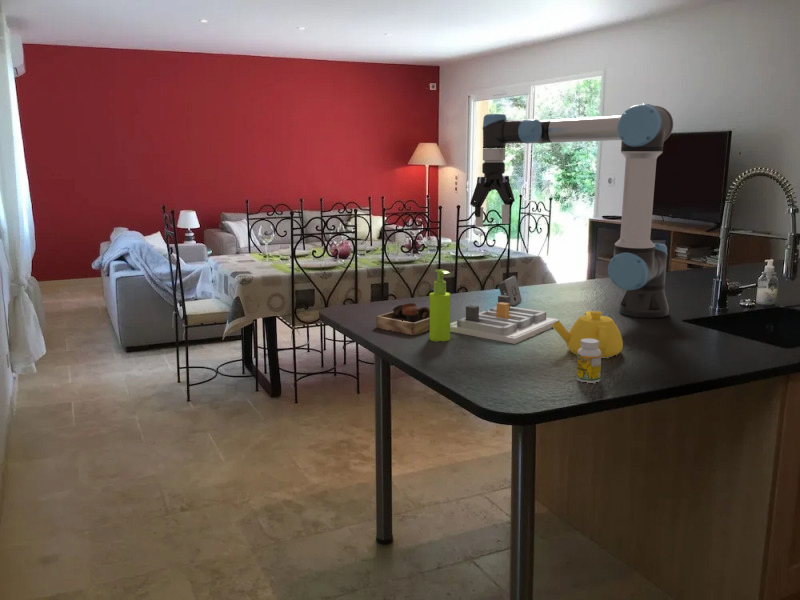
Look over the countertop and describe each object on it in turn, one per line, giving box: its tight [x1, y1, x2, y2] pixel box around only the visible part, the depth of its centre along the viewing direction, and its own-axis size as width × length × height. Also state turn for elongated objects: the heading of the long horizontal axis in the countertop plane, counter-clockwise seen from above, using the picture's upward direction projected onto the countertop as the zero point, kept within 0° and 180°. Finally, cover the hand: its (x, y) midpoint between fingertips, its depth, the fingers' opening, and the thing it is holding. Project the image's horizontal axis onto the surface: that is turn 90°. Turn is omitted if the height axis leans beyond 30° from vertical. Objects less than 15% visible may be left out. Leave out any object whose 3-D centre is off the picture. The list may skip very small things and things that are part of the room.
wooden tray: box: [375, 310, 430, 336], centre depth 211 cm, size 15×17×4 cm
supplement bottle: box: [576, 338, 602, 384], centre depth 160 cm, size 5×5×10 cm
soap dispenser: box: [429, 268, 451, 342], centre depth 194 cm, size 6×7×20 cm
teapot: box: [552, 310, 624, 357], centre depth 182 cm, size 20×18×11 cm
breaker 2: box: [497, 294, 511, 311], centre depth 218 cm, size 3×3×6 cm
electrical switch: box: [497, 275, 523, 307], centre depth 240 cm, size 9×5×9 cm, turn 152°
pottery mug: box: [392, 302, 430, 323], centre depth 211 cm, size 12×10×8 cm
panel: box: [450, 306, 561, 345], centre depth 208 cm, size 24×27×4 cm
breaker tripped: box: [496, 302, 510, 319], centre depth 208 cm, size 3×3×6 cm
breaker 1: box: [465, 304, 480, 322], centre depth 204 cm, size 3×3×6 cm
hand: (492, 225), depth 236 cm, fingers open, 13 cm apart
